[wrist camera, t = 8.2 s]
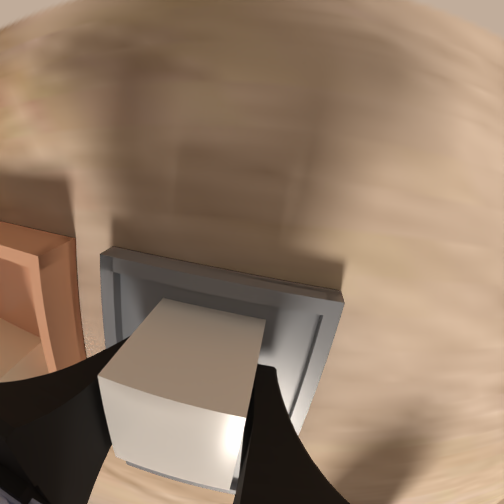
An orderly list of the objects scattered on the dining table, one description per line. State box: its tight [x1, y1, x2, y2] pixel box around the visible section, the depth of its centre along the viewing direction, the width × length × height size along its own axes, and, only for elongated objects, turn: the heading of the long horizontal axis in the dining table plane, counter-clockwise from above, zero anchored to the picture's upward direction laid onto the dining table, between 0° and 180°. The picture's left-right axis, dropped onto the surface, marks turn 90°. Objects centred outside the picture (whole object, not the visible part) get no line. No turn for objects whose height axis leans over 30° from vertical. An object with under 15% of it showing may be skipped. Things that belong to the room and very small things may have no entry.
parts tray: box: [100, 247, 344, 495], centre depth 14 cm, size 14×9×1 cm, turn 172°
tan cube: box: [0, 318, 49, 382], centre depth 12 cm, size 4×4×5 cm
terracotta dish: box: [0, 221, 87, 373], centre depth 13 cm, size 11×9×2 cm
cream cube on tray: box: [98, 298, 266, 490], centre depth 10 cm, size 4×4×5 cm
